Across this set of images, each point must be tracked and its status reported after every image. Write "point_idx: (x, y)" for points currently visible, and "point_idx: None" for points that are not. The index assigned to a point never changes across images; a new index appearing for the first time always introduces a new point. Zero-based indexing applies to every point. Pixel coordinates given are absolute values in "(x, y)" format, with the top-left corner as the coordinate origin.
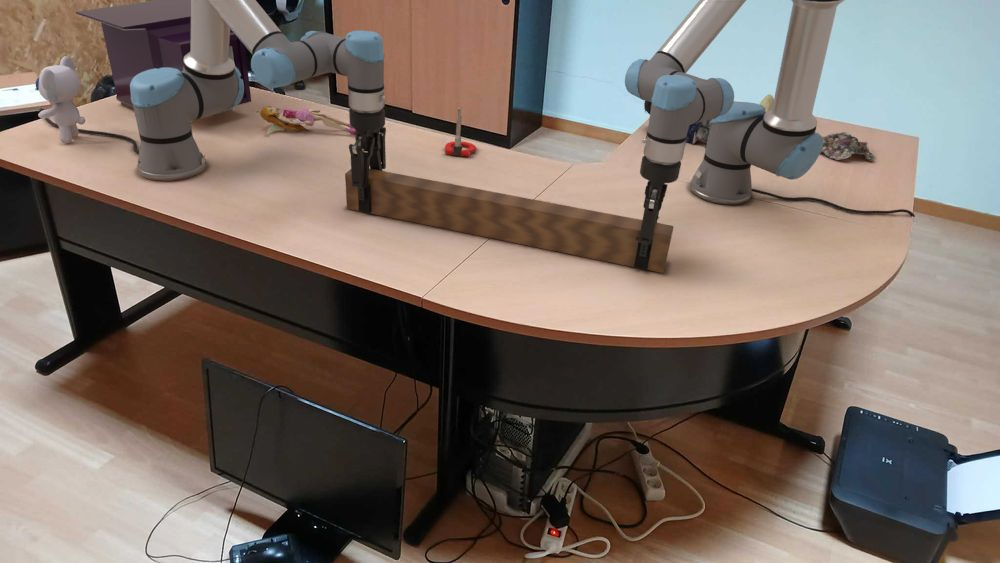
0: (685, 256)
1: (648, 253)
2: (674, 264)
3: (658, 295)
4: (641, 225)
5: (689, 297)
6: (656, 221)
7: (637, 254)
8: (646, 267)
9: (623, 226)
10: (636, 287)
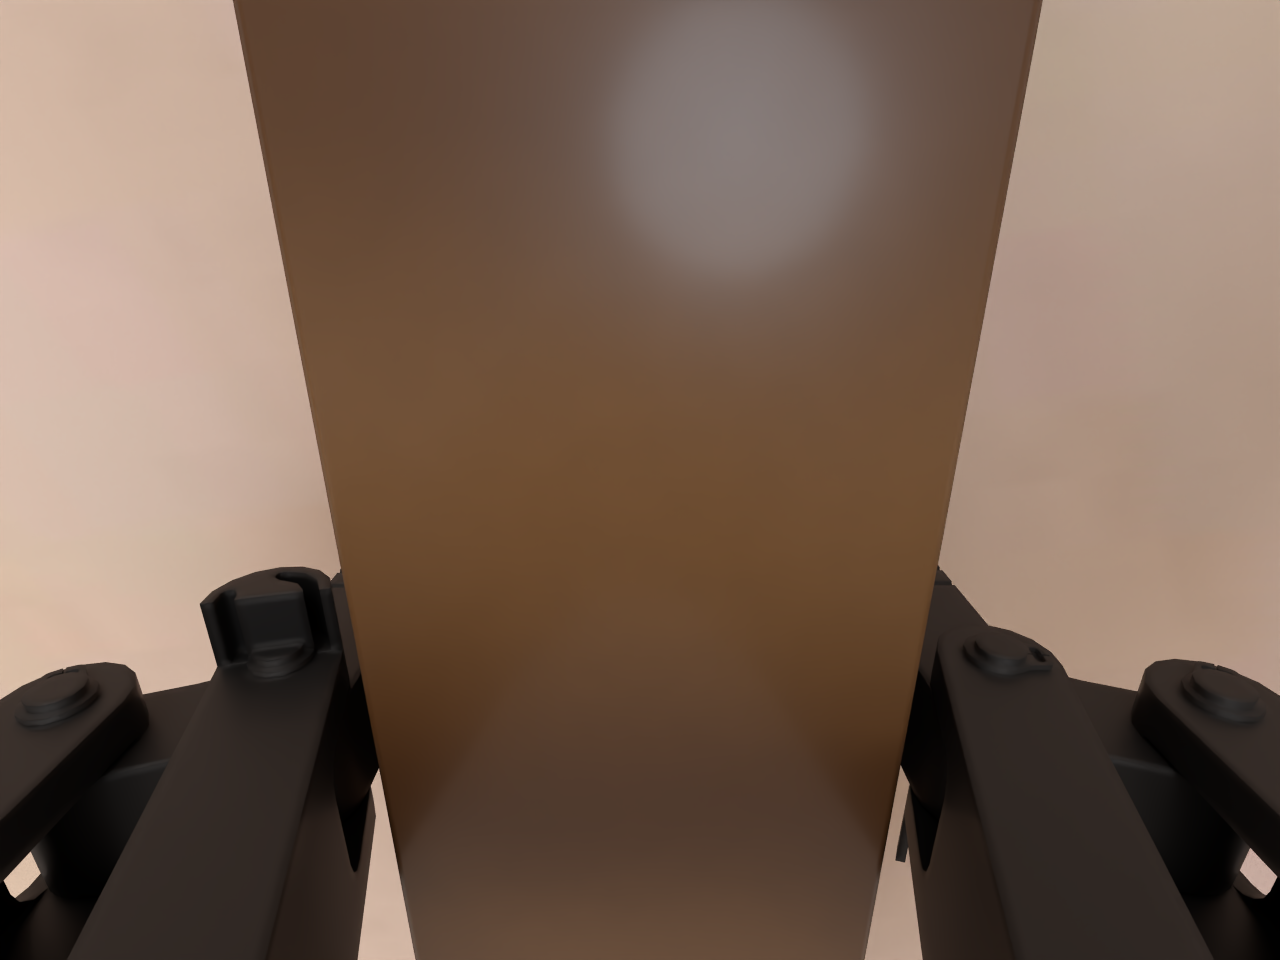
0: (903, 774)
1: None
2: None
3: (180, 665)
4: (615, 700)
5: None
6: (918, 912)
7: None
8: None
9: (329, 301)
10: (185, 494)
